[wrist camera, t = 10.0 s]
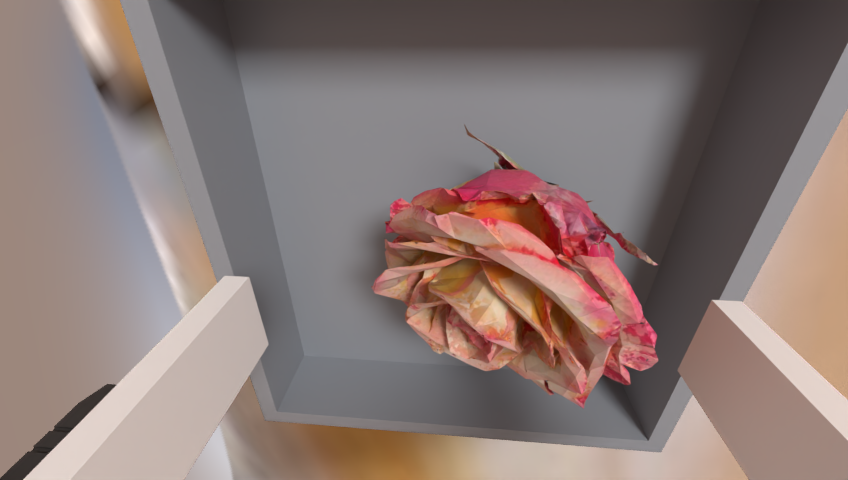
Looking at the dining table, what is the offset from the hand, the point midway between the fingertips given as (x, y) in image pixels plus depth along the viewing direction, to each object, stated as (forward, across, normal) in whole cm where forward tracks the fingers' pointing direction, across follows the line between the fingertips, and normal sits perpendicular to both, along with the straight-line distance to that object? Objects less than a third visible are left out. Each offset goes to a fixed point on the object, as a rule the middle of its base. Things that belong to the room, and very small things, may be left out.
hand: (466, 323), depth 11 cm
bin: (+7, 0, 0) cm, 7 cm away
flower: (+7, -1, 0) cm, 7 cm away
